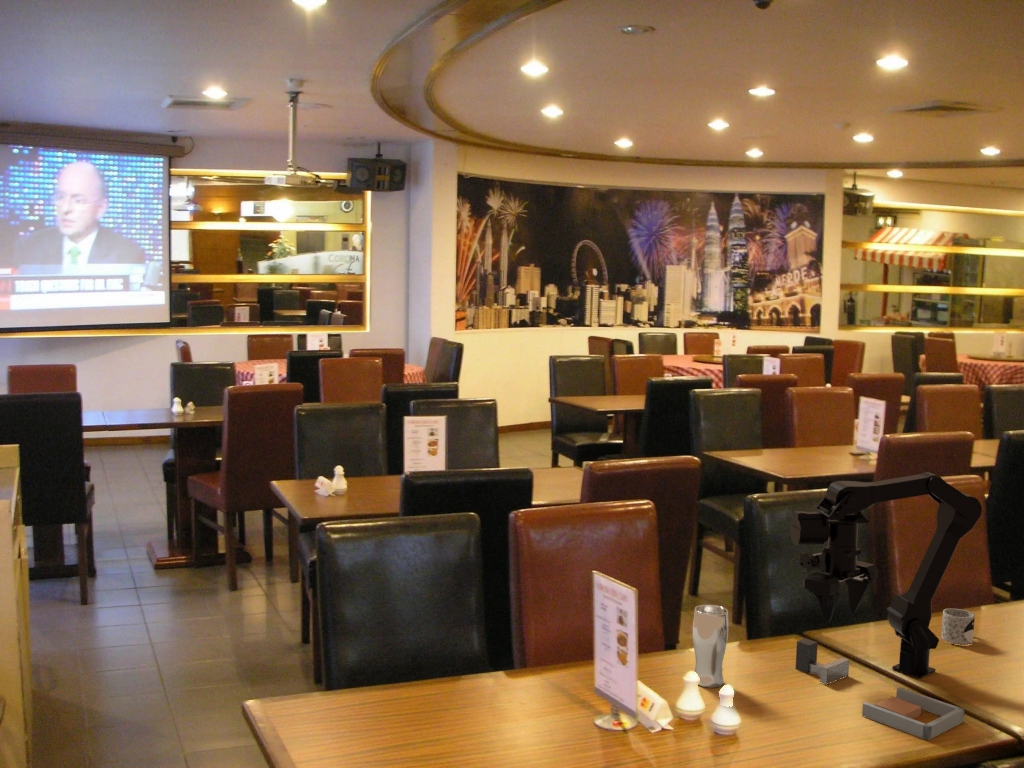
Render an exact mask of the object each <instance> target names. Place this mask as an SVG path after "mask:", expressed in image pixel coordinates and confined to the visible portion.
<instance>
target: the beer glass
mask: <svg viewBox="0 0 1024 768" xmlns="http://www.w3.org/2000/svg"><path fill="white" fill-rule="evenodd" d="M728 638H729V611H728V609H727V608H726V607H723V606H720V605H717V604H716V605H714V604H700V605H696V606H695V607H694V613H693V623H692V641H693V643H692V644H693V650H694V656H695V657H694V659H695V667H694V672H696V673H697V674H698V676H699V678H700V684H699V685H700V686H699V687H701V686H702V688H706V687H708V688H709V689H717V688H720V687H722V686H723V685H724V684H725V682H724V676H723V662H724V657H725V654H726V648H727V644H728ZM708 688H707V689H708Z"/></svg>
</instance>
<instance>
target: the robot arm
mask: <svg viewBox="0 0 1024 768" xmlns="http://www.w3.org/2000/svg"><path fill="white" fill-rule="evenodd" d="M926 495H928V496H929V497H930V498H931V499H932V500H933V501H934V502H935V503H937V504H938V508H937V512H936V530H935V532H934V533H933V534H934V535H933V536H932V539H931V541H930V542H929V545H928V547H927V549H926V552H925V554H924V556H923V558H922V560H921V562H920V565H919V567H918V569H917V571H916V574H915V575H914V578H912V579H913V580H912V582H911V583H910V586H909V587H908V590H907V591H905V592H904V593H903V594H902V595H900V594H898V593H894V595H893V597H892V601H891V603H890V604H889V606H888V607H887V608H886V610H887V612H888V614H887V620H888V623H889V625H890V627H891V628H892V629H893V631H894V634H895V636H896V637H899V638H900V646H899V647H900V648H899V661H898V663H897V664H895V665H892V666H891V667H892V668H891V669H892V670H894V671H898V672H901V673H903V674H906V675H909V676H912V677H916V678H919V679H921V678H924V677H926V676H929V675H930V674H933V673H935V672H936V668H934V667H931V666H930V654H931V653H930V652H931V651H930V650H936V649H937V647H938V645H939V642H940V639H939V637H937V635H936V634H935V633H934V632H933V631H932V630H931V629H930V623H931V620H932V600H933V598H934V596H935V594H936V591H937V589H938V587H939V585H940V583H941V581H942V579H943V577H944V575H945V572H946V570H947V568H948V566H949V564H950V561H951V559H952V557H953V555H954V553H955V551H956V548H957V546H958V545H959V542H960V541H961V539H962V538H963V537H964V536H966V535H967V534H968V533H970V532H971V531H972V530H973V528H974V527H975V526H976V525H977V522H978V521H979V520H980V519H981V516H982V514H983V507H982V504H981V502H980V501H979V499H978V498H976V497H975V496H973V495H970V494H967V493H964V492H962V491H960V490H959V489H957V488H956V487H954V486H952V485H951V484H949V483H948V482H947V481H945V480H944V479H943V478H942V477H941V476H940V475H937V474H934V473H931V472H929V471H924V472H922V473H918V474H914V475H907V476H902V477H895V478H888V479H883V480H877V481H869V482H865V481H854V480H836V481H833V482H831V483H830V484H829V486H828V487H827V489H826V491H825V495H824V496H823V498H822V499H821V500H820V502H819V503H818V505H816V507H815V508H814V511H802V510H796V511H795V512H794V517H793V518H792V519H791V523H790V525H789V526H790V527H789V533H790V535H789V536H790V538H791V539H790V540H791V541H792V543H793V544H794V546H795V545H796V546H799V545H800V546H805V545H808V546H809V545H823V544H825V542H827V546H823V548H822V549H821V552H818V553H812V552H811V551H807V552H802V553H800V554H799V559H798V565H799V566H800V568H801V569H802V570H803V569H804V572H805V573H809V572H811V571H815V570H816V571H817V570H820V571H819V572H818V571H817V572H814V573H810V574H807V575H806V576H805V577H803V583H802V585H803V589H805V590H807V592H809V593H811V594H813V595H814V596H815V597H816V599H817V602H818V604H819V608H820V610H821V614H822V617H823V618H822V619H823V621H824V622H825V623H831V621H832V618H833V616H834V613H835V609H836V606H837V603H838V600H839V597H840V592H839V589H840V583H842V582H845V584H846V585H847V593H848V594H847V595H848V596H847V597H848V607H849V608H848V609H849V610H848V611H849V612H850V613H851V614H855V613H857V610H858V609H859V607H860V605H861V603H862V601H863V599H864V598H865V596H866V595H867V594H868V591H869V590H870V588H871V587H872V585H873V584H874V583H875V580H877V579H878V578H879V569H878V567H877V566H876V564H874V563H869V562H865V561H861V560H858V559H857V556H858V555H862V549H861V548H858V533H859V532H858V529H859V524H868V523H869V519H868V518H867V517H865V516H864V515H863V513H862V511H864V510H867V509H869V508H870V507H872V506H873V505H877V504H879V503H884V502H888V501H889V502H890V501H895V500H903V499H909V498H915V497H920V496H921V497H922V496H926ZM832 508H833V509H832Z"/></svg>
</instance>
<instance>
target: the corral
mask: <svg viewBox="0 0 1024 768" xmlns="http://www.w3.org/2000/svg"><path fill="white" fill-rule="evenodd" d="M895 694H896V695H895V696H896V697H895V698H898V699H901V700H903V701H906V702H909V703H912V704H915V705H917V706H920V707H921V711H922V710H923V711H926V712H929V713H931V714H934V715H936V716H940V717H937V718H935V719H934V720H932V721H930V722H928V723H924V722H921V721H919V720H916V719H915V718H913V719H911V718H908V717H905V716H903V715H900V714H897V713H894V712H892V711H889V710H886V709H883V708H881V707H878V706H875V704H872V703H869V702H866V701H865V702H863V703H862V713H861V714H862V715H861V716H862V717H864V716H865V718H866V719H869V720H872V721H875V722H878V723H881V724H882V725H886V726H888V727H891V728H894V729H896V730H899V731H902V732H904V733H907V734H910V735H913V736H914V737H917V738H920V739H923V740H926V741H930V740H932V739H934V738H936V737H937V736H939V735H942V734H943V733H945V732H947V731H949V730H952V729H953V728H955V727H956V726H959V725H960V724H962V723H964V722H965V710H966V709H965V708H963V707H960V706H956V705H954V704H953V705H952V704H950V703H947V702H944V701H941V700H938V699H936V698H932V697H930V696H927V695H924V694H920V693H917V692H915V691H912V690H909V689H905V688H903V687H897V688H896V693H895Z"/></svg>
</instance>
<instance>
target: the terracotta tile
mask: <svg viewBox="0 0 1024 768" xmlns="http://www.w3.org/2000/svg"><path fill="white" fill-rule="evenodd" d="M874 705H875V706H878V707H881V708H883V709H886V710H889V711H892V712H894V713H897V714H900V715H903V716H905V717H908V718H911V719H915V718H917V717H919V716H921V714H922V712H921V711H922V709H921V707H920V706H917V705H915V704H912V703H909V702H906V701H903V700H901V699H898V698H896V697H894V696H890V697H888V698H885V699H883V700H881V701H879V702H875V703H874Z"/></svg>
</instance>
